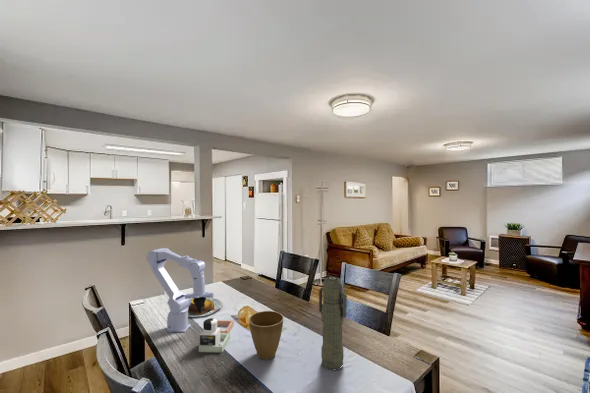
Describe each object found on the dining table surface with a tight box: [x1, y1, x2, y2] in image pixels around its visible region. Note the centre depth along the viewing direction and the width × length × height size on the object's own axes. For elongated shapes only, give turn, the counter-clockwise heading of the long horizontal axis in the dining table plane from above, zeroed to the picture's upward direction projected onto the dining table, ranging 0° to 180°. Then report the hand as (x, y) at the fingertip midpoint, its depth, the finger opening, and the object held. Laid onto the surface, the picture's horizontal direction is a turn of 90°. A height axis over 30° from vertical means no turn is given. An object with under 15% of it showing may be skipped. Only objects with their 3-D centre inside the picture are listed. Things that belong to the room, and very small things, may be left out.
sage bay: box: [198, 332, 231, 353], centre depth 129 cm, size 10×12×2 cm
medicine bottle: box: [199, 317, 221, 345], centre depth 128 cm, size 7×7×12 cm
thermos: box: [318, 275, 348, 370], centre depth 115 cm, size 9×12×35 cm
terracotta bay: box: [216, 319, 235, 333], centre depth 143 cm, size 10×12×2 cm
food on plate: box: [188, 297, 223, 318], centre depth 170 cm, size 26×25×7 cm
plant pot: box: [248, 310, 285, 360], centre depth 121 cm, size 15×15×16 cm
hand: (200, 312), depth 141 cm, fingers closed
